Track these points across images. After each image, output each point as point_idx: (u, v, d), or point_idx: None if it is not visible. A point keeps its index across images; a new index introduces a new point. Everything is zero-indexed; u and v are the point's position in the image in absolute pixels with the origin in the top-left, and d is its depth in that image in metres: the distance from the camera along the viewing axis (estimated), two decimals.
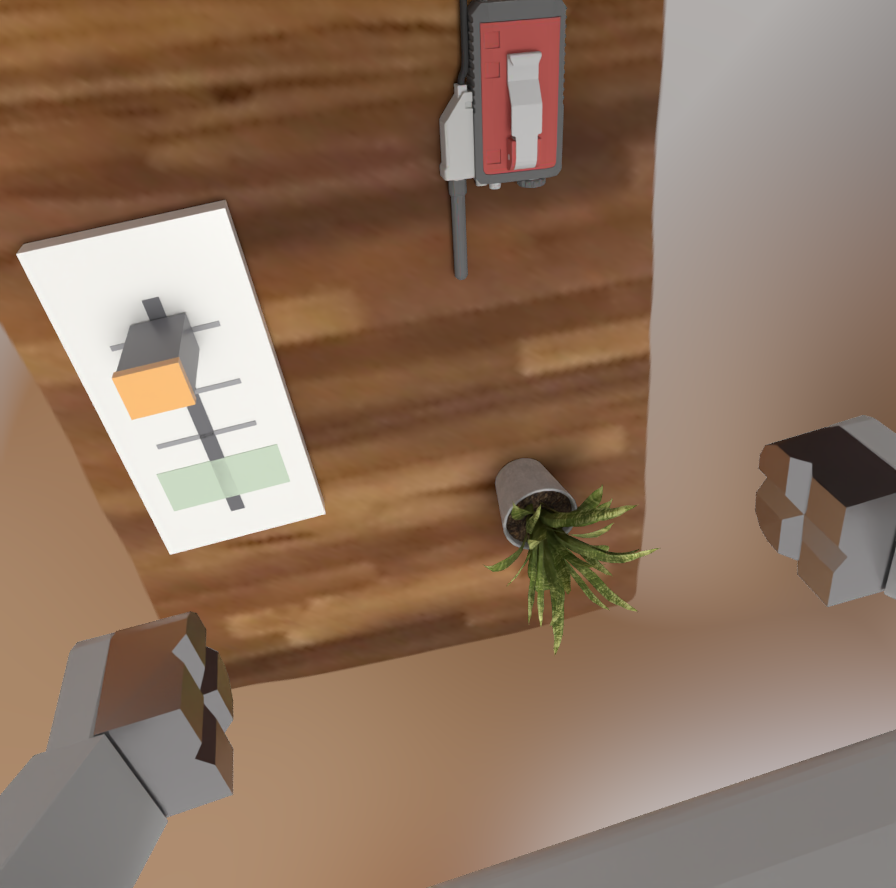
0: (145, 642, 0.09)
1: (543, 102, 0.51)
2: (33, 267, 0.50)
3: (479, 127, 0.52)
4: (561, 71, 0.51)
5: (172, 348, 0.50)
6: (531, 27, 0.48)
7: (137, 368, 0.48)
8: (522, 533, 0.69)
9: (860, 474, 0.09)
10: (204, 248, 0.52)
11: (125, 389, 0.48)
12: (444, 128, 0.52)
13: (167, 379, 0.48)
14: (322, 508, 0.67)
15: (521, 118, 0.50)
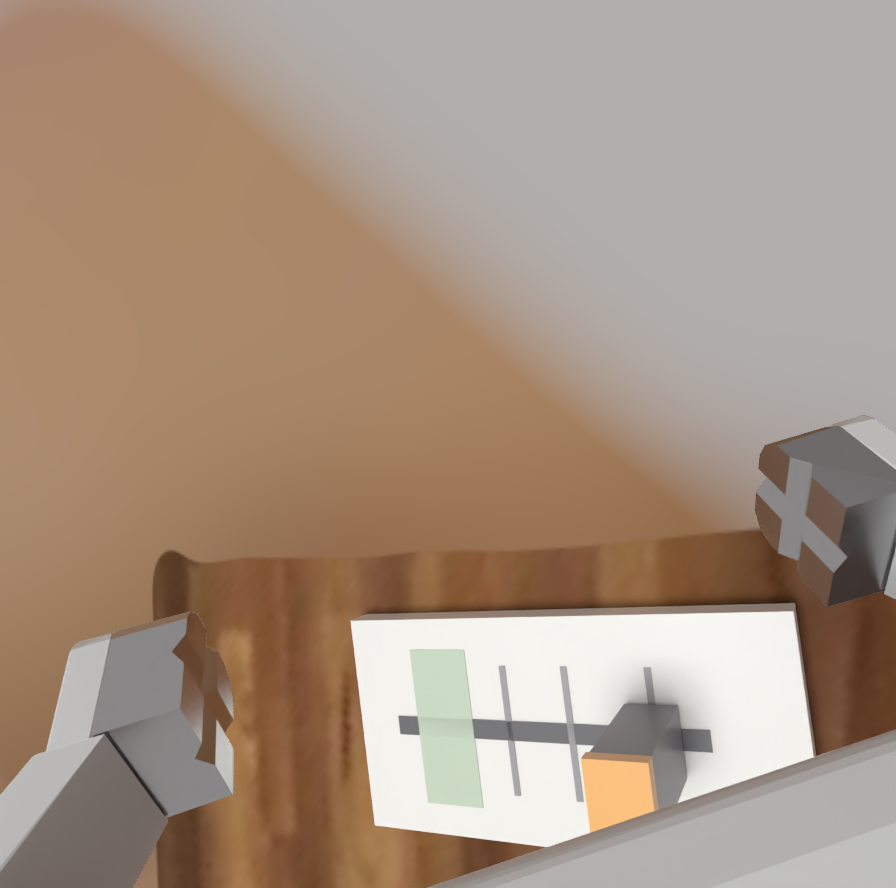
0: (145, 642, 0.09)
1: None
2: (772, 623, 0.39)
3: None
4: None
5: None
6: None
7: (655, 792, 0.35)
8: None
9: (861, 475, 0.09)
10: None
11: (628, 772, 0.35)
12: None
13: None
14: (383, 824, 0.51)
15: None
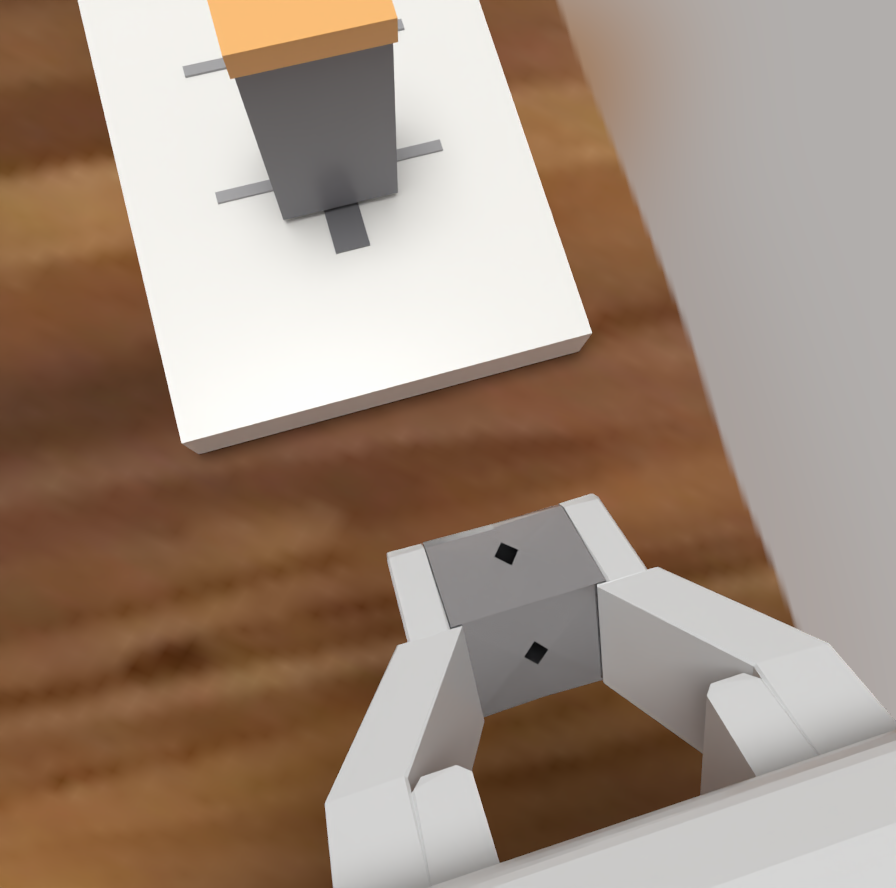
0: (463, 549, 0.09)
1: None
2: (564, 307, 0.25)
3: None
4: None
5: (266, 114, 0.20)
6: None
7: (335, 48, 0.18)
8: None
9: (558, 565, 0.09)
10: (233, 356, 0.25)
11: None
12: None
13: (257, 11, 0.18)
14: None
15: None
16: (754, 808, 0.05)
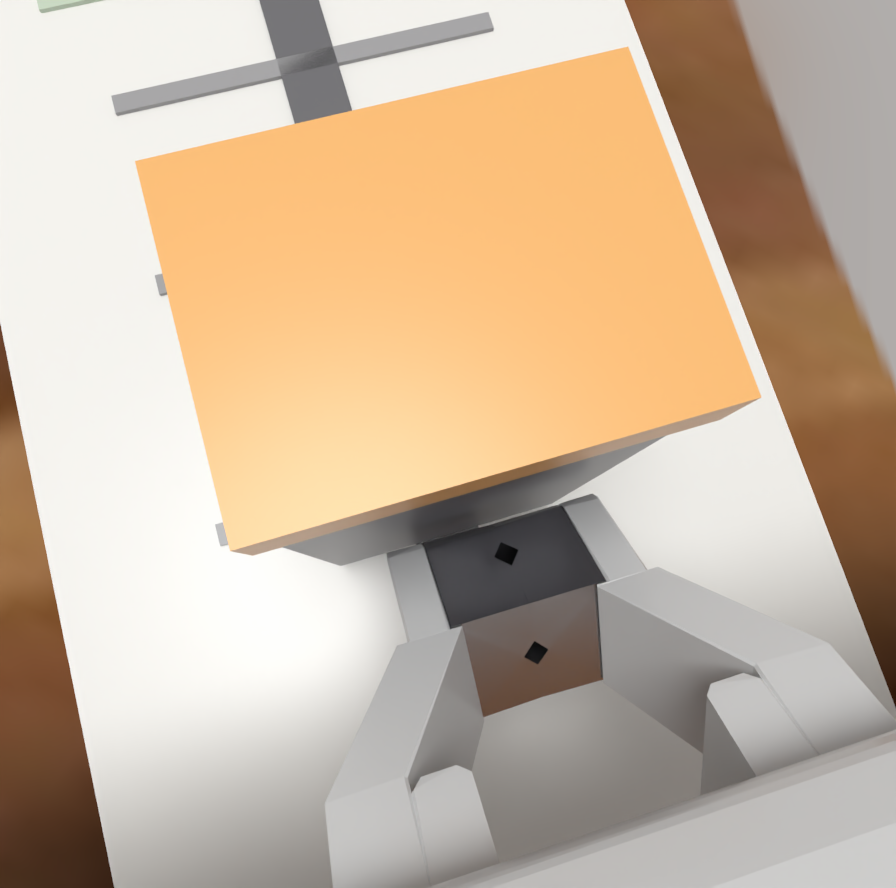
0: (463, 549, 0.09)
1: None
2: None
3: None
4: None
5: (337, 537, 0.08)
6: None
7: (560, 462, 0.06)
8: None
9: (558, 564, 0.09)
10: (251, 869, 0.13)
11: (663, 299, 0.06)
12: None
13: (336, 380, 0.06)
14: None
15: None
16: (754, 808, 0.05)
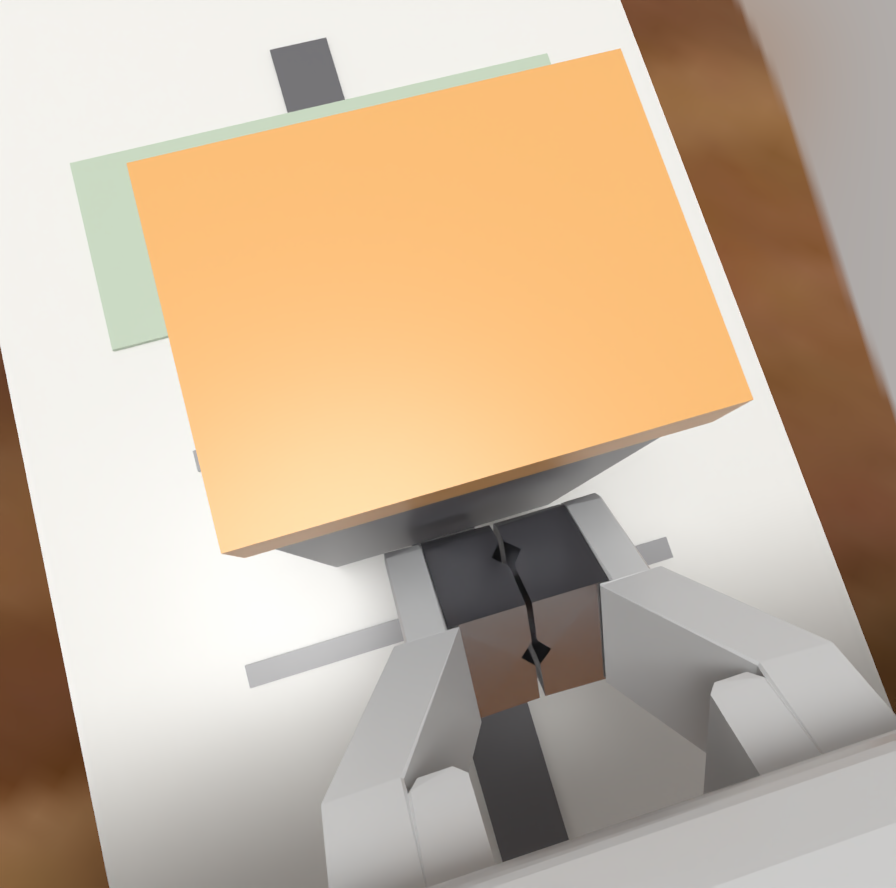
0: (461, 550, 0.09)
1: None
2: None
3: None
4: None
5: (331, 539, 0.08)
6: None
7: (553, 465, 0.06)
8: None
9: (561, 563, 0.09)
10: None
11: (654, 302, 0.06)
12: None
13: (328, 384, 0.06)
14: None
15: None
16: (754, 808, 0.05)
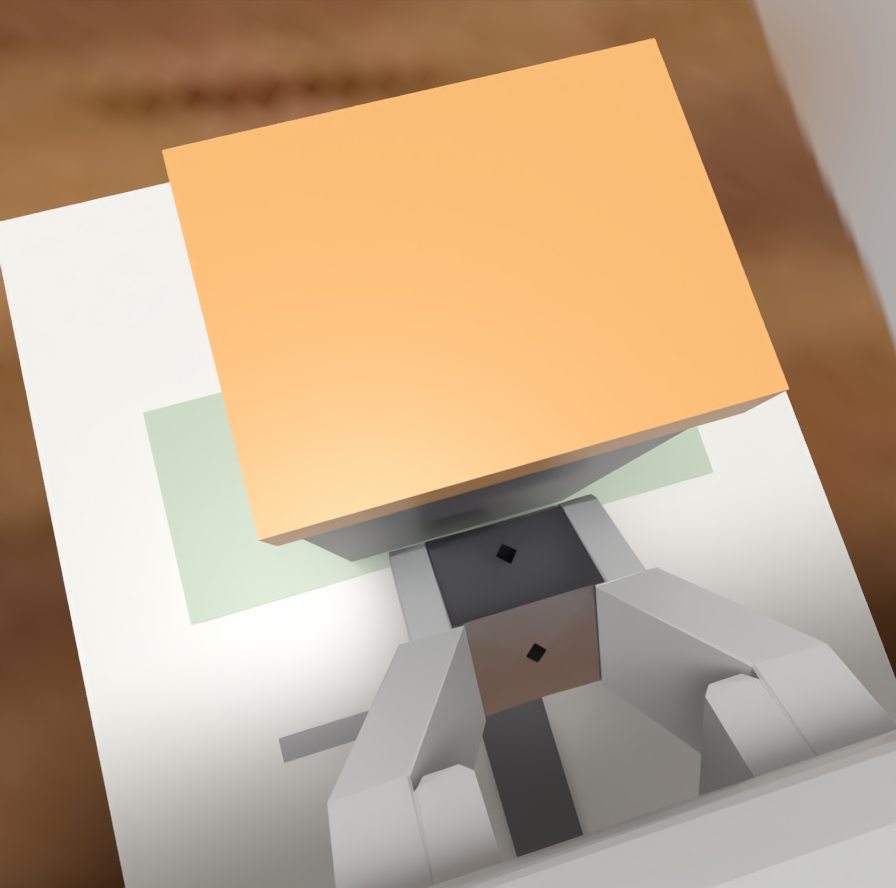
0: (465, 548, 0.09)
1: None
2: None
3: None
4: None
5: (356, 530, 0.08)
6: None
7: (585, 454, 0.06)
8: None
9: (556, 565, 0.09)
10: None
11: (690, 291, 0.06)
12: None
13: (365, 371, 0.06)
14: (4, 254, 0.14)
15: None
16: (754, 808, 0.05)
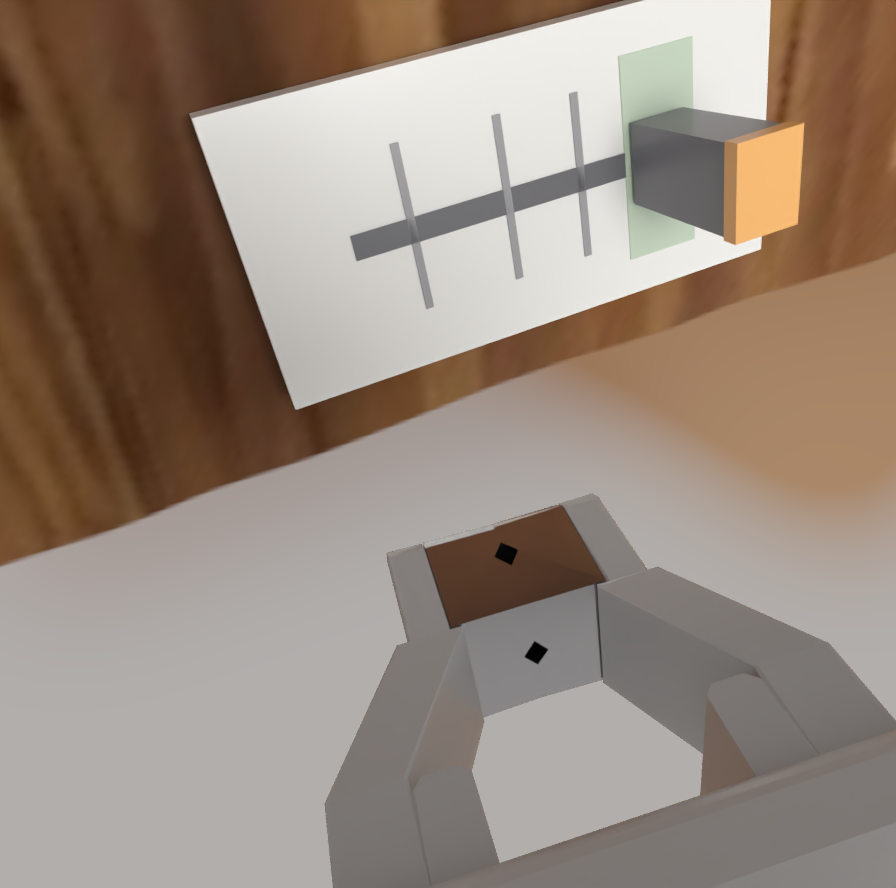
0: (463, 549, 0.09)
1: None
2: (312, 392, 0.38)
3: None
4: None
5: (700, 149, 0.32)
6: None
7: (727, 206, 0.32)
8: None
9: (558, 564, 0.09)
10: (266, 159, 0.32)
11: (754, 227, 0.32)
12: None
13: (756, 163, 0.31)
14: None
15: None
16: (754, 808, 0.05)
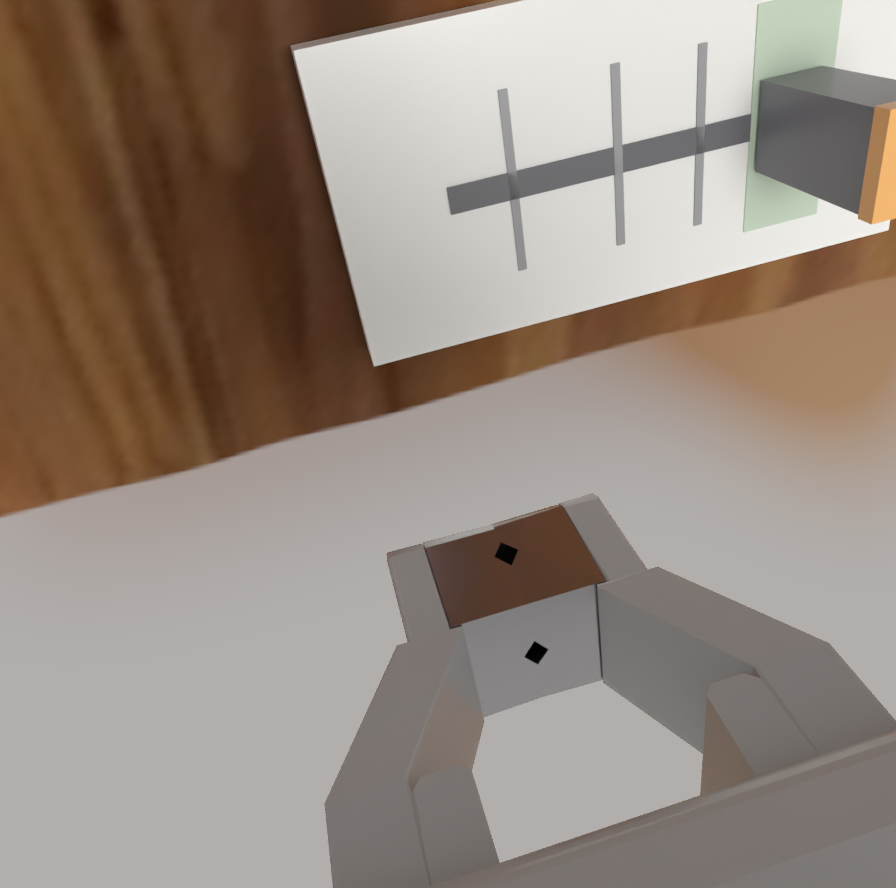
0: (463, 549, 0.09)
1: None
2: (393, 349, 0.36)
3: None
4: None
5: (843, 114, 0.29)
6: None
7: (868, 180, 0.28)
8: None
9: (558, 564, 0.09)
10: (366, 99, 0.30)
11: None
12: None
13: None
14: None
15: None
16: (754, 808, 0.05)
